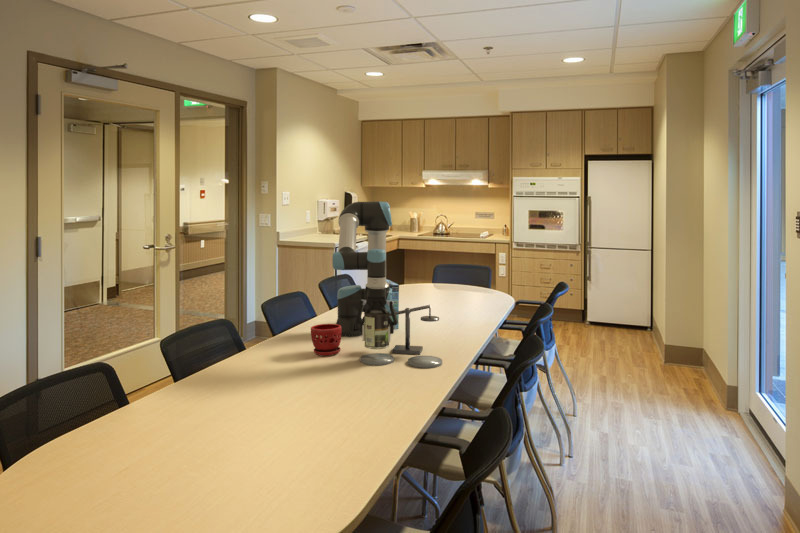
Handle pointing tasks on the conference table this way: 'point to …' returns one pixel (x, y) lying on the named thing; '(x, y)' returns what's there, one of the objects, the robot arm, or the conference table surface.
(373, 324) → the coffee can
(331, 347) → the plant pot
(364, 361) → the dish left
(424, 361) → the dish right
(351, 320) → the robot arm
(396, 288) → the gum box
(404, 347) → the balance
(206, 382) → the conference table surface
